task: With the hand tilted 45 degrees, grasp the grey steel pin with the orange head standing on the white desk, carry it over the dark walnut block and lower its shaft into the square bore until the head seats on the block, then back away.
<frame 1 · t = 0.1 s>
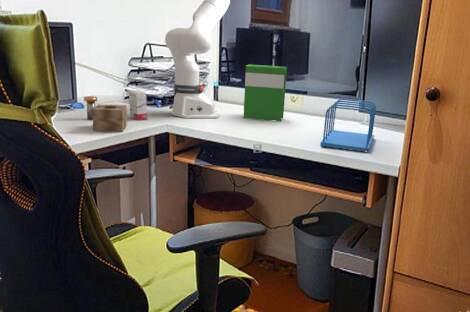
ink box: (137, 118, 208), on the table
file sorter: (347, 143, 182), on the table
block: (110, 128, 186), on the table
pin: (91, 119, 202), on the table
green cereal box: (263, 118, 221), on the table
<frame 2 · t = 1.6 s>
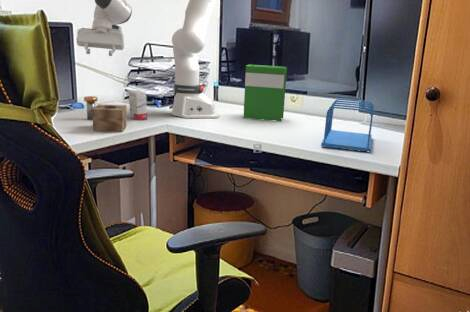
hand: (99, 54, 205), 27 cm above the table, tool tilted 45°, fingers open, 8 cm apart
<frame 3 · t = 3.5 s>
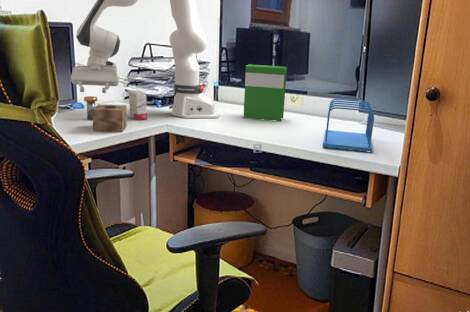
hand: (92, 91, 205), 11 cm above the table, tool tilted 45°, fingers open, 8 cm apart
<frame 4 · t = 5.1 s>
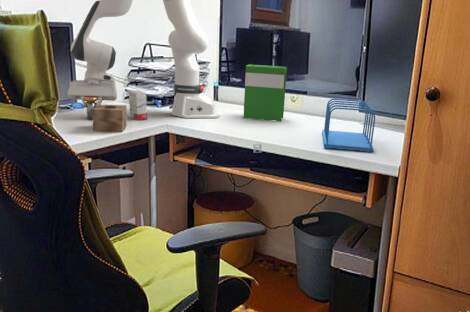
hand: (90, 106, 200), 5 cm above the table, tool tilted 45°, fingers closed on pin, 3 cm apart
pin: (91, 119, 202), on the table, touching gripper
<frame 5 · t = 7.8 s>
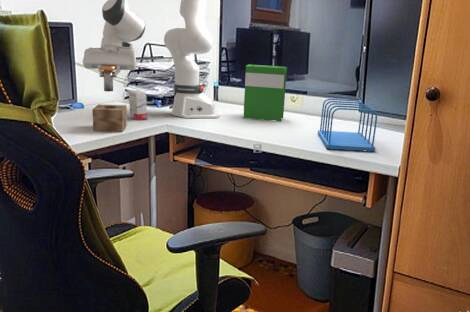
hand: (108, 76, 181), 20 cm above the table, tool tilted 45°, fingers closed on pin, 3 cm apart
pin: (108, 90, 183), point 15 cm above the table, touching gripper
when the fingers open (10 cm above the table, at t = 10.7 s): pin stays where it is, resting on block.
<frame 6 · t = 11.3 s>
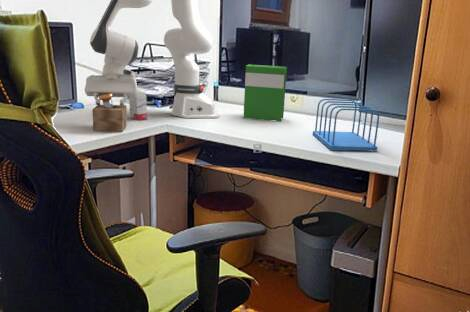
hand: (109, 104, 183), 10 cm above the table, tool tilted 45°, fingers open, 8 cm apart
pin: (111, 117, 186), point 4 cm above the table, tilted 12°, touching block, gripper
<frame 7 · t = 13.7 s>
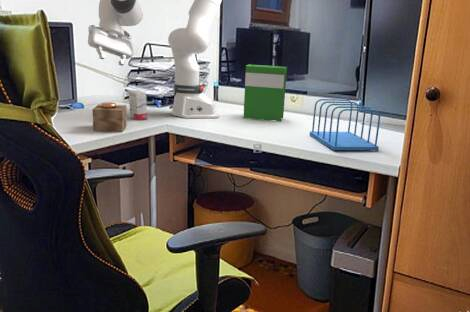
hand: (111, 61, 194), 25 cm above the table, tool tilted 35°, fingers open, 8 cm apart
pin: (109, 127, 186), resting on block
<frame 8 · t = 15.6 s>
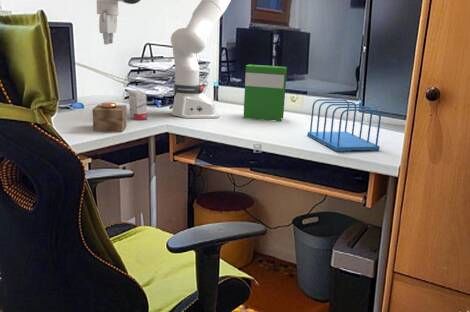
hand: (108, 43, 204), 31 cm above the table, tool pointing down, fingers open, 8 cm apart
at the end: pin 0.5 cm off-centre on the block, point 0.5 cm above the block's base; pin tilted 0°; the gripper is holding nothing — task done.
